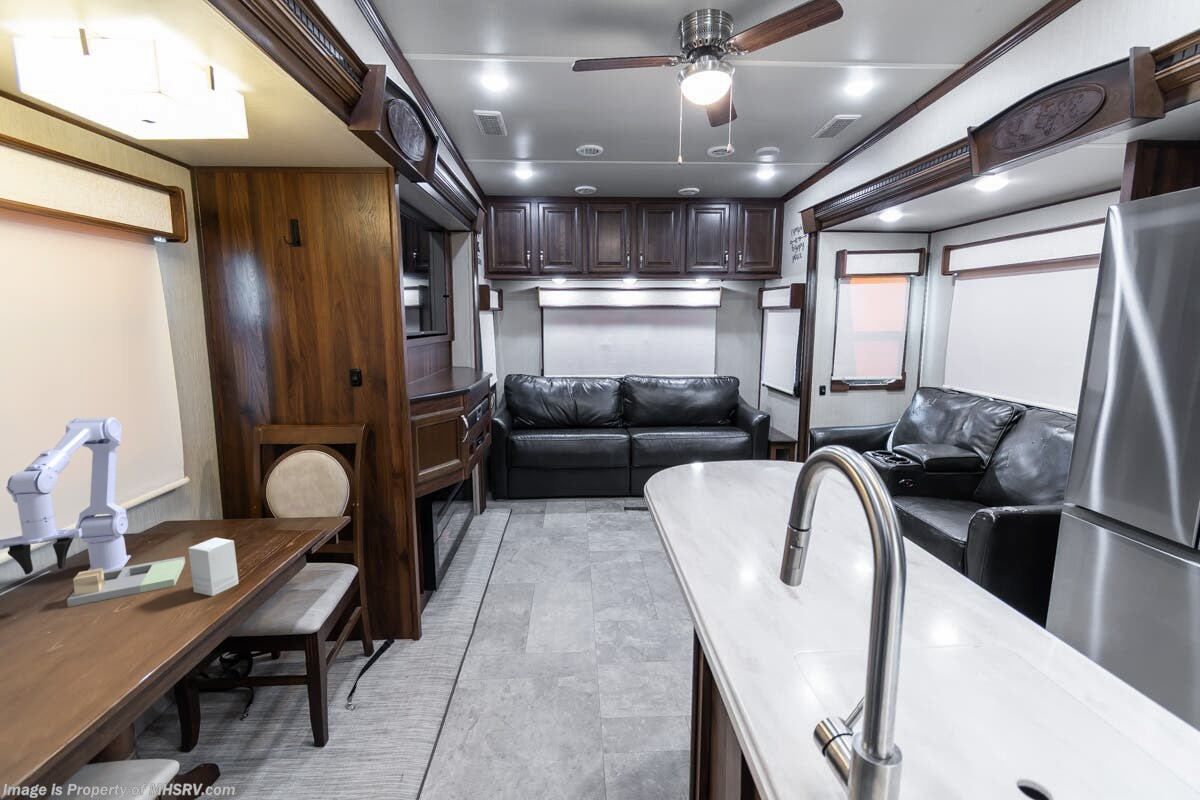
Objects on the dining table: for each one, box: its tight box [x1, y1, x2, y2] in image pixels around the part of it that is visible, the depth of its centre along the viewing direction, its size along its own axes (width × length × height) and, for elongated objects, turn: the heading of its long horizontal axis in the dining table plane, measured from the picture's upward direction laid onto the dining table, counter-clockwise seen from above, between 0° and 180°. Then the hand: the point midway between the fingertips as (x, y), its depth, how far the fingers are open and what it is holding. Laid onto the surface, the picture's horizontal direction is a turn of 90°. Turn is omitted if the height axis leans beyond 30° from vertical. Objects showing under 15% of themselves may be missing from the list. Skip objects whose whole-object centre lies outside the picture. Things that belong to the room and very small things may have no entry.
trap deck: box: [66, 556, 186, 608], centre depth 141 cm, size 16×21×2 cm
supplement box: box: [188, 537, 239, 597], centre depth 138 cm, size 7×7×13 cm
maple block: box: [72, 568, 105, 596], centre depth 133 cm, size 4×4×4 cm
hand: (45, 569), depth 129 cm, fingers open, 5 cm apart
